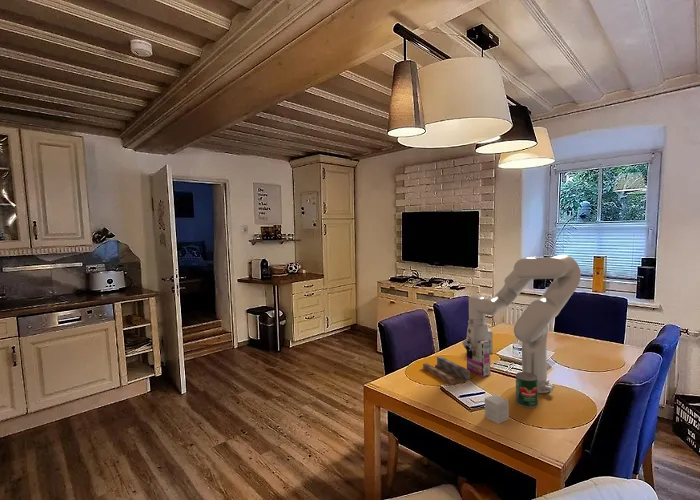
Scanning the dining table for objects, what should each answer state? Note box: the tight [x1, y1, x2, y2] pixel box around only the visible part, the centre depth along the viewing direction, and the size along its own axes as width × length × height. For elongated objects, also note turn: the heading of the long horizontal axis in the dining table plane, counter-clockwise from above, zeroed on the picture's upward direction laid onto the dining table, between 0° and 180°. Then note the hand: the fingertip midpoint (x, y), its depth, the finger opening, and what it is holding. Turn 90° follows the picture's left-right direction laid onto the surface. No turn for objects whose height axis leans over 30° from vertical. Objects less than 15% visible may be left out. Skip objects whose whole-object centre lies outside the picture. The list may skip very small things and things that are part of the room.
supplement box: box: [487, 327, 494, 354], centre depth 203 cm, size 7×7×13 cm
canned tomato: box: [515, 371, 539, 409], centre depth 144 cm, size 8×8×11 cm
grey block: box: [484, 394, 510, 425], centre depth 134 cm, size 6×6×7 cm
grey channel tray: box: [422, 355, 471, 386], centre depth 175 cm, size 22×11×4 cm, turn 24°
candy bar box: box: [465, 336, 491, 378], centre depth 175 cm, size 11×5×16 cm, turn 25°
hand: (477, 356), depth 176 cm, fingers open, 9 cm apart
